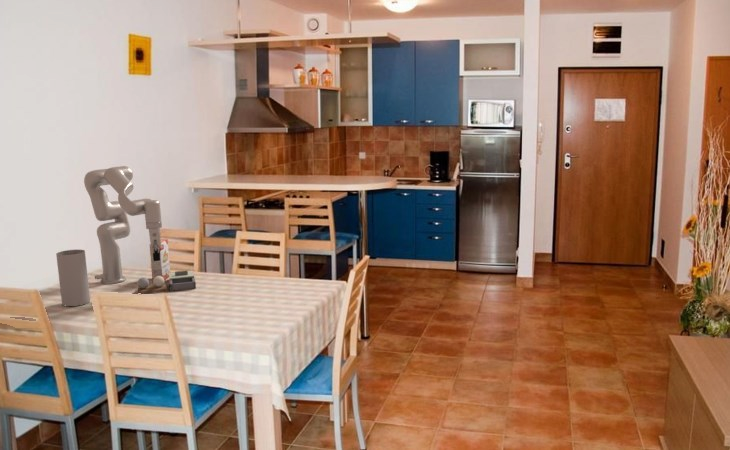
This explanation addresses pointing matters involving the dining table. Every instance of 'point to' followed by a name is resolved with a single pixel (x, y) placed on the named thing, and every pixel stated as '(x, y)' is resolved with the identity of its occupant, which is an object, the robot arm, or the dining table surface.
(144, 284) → the grey matte ball
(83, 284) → the cylinder vase
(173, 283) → the bin
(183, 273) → the lid
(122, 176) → the robot arm
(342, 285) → the dining table surface
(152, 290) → the board
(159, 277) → the cream matte ball
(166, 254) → the cracker box
